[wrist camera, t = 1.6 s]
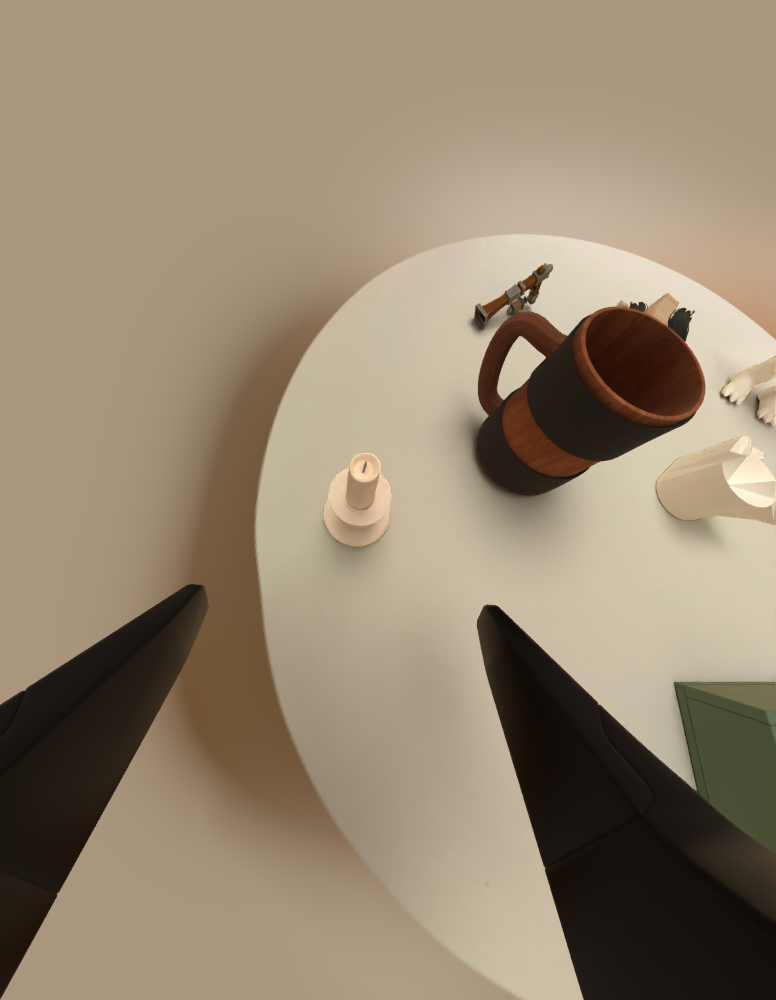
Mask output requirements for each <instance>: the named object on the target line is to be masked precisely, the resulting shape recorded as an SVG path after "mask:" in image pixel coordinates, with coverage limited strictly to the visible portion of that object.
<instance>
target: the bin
mask: <svg viewBox="0 0 776 1000" xmlns="http://www.w3.org/2000/svg"><path fill="white" fill-rule="evenodd" d="M675 686H676V691H677V696H678V700H679V705H680V709H681V714H682V719H683V723H684V728H685V732H686V737H687V742H688V746H689V751H690V756H691V760H692V765H693V769H694V774H695V779H696V783H697V788H698V793H699V794H700V795H701V796H702V797H703V798H704V799H705V800H707V801H708V802H709V803H710V804H711V805H712V806H713V807H715V808H716V809H717V810H718V811H719V812H720V813H722V814H723V815H724V816H725V817H726V818H728V819H729V820H730V821H731V822H732V823H734V824H735V825H736V826H738V827H739V828H740V829H742V830H743V831H744V832H746V833H747V834H749V835H750V836H752V837H753V838H755V839H756V840H757V841H759V842H761V843H762V844H764V845H766V846H767V847H769V848H771V849H772V850H774V851H776V682H675Z"/></svg>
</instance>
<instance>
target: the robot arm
mask: <svg viewBox="0 0 776 1000" xmlns="http://www.w3.org/2000/svg"><path fill="white" fill-rule="evenodd" d="M208 607H209V603H208V599H207V594H206V589H205V587H204V586H203V585H194V584H190V585H187V586H185V587H183V588H182V589H180V590H179V591H177V592H176V593H174V594H173V595H171V596H169V597H168V598H166V599H165V600H163V601H162V602H160V603H159V604H157V605H155V606H154V607H152V608H151V609H149V610H148V611H146V612H144V613H143V614H141V615H140V616H138V617H137V618H135V619H134V620H132V621H130V622H129V623H127V624H126V625H124V626H123V627H121V628H120V629H118V630H117V631H115V632H113V633H112V634H110V635H109V636H107V637H105V638H104V639H103V640H101V641H99V642H98V643H96V644H95V645H93V646H92V647H90V648H88V649H87V650H85V651H84V652H82V653H81V654H79V655H77V656H76V657H74V658H73V659H71V660H70V661H68V662H67V663H65V664H64V665H62V666H60V667H59V668H57V669H56V670H54V671H52V672H51V673H49V674H48V675H46V676H45V677H43V678H42V679H40V680H38V681H37V682H35V683H34V684H32V685H31V686H29V687H28V688H27V689H26V691H21V692H19V693H18V694H17V695H15V696H13V697H12V698H10V699H9V700H7V701H5V702H4V703H2V704H1V705H0V999H1V997H2V995H3V994H4V992H5V990H6V988H7V986H8V984H9V983H10V981H11V978H12V977H13V975H14V974H15V972H16V970H17V968H18V966H19V964H20V963H21V961H22V959H23V957H24V955H25V954H26V952H27V950H28V948H29V946H30V944H31V942H32V941H33V939H34V937H35V935H36V933H37V932H38V930H39V928H40V926H41V924H42V923H43V921H44V919H45V917H46V915H47V914H48V912H49V910H50V908H51V906H52V904H53V903H54V901H55V899H56V897H57V893H58V892H59V891H60V889H61V887H62V886H63V884H64V882H65V880H66V879H67V877H68V875H69V873H70V871H71V869H72V868H73V866H74V864H75V862H76V860H77V858H78V857H79V855H80V853H81V851H82V849H83V848H84V846H85V844H86V842H87V840H88V839H89V837H90V835H91V833H92V831H93V830H94V828H95V826H96V824H97V822H98V820H99V819H100V817H101V815H102V813H103V811H104V810H105V808H106V806H107V804H108V802H109V801H110V799H111V797H112V795H113V793H114V791H115V790H116V788H117V786H118V784H119V782H120V781H121V779H122V777H123V775H124V773H125V771H126V770H127V768H128V766H129V764H130V762H131V760H132V759H133V757H134V755H135V753H136V752H137V750H138V748H139V746H140V744H141V742H142V741H143V738H144V737H145V735H146V733H147V731H148V730H149V728H150V726H151V724H152V722H153V721H154V719H155V717H156V715H157V713H158V712H159V710H160V708H161V706H162V704H163V702H164V701H165V699H166V697H167V695H168V693H169V692H170V690H171V688H172V686H173V684H174V682H175V681H176V679H177V677H178V675H179V673H180V672H181V670H182V668H183V666H184V664H185V662H186V660H187V657H188V655H189V653H190V651H191V649H192V646H193V644H194V641H195V639H196V637H197V634H198V632H199V630H200V627H201V625H202V623H203V620H204V618H205V616H206V613H207V611H208ZM477 630H478V635H479V640H480V645H481V650H482V655H483V660H484V665H485V670H486V674H487V678H488V681H489V685H490V688H491V691H492V695H493V698H494V701H495V705H496V708H497V711H498V715H499V718H500V721H501V725H502V728H503V731H504V735H505V738H506V741H507V745H508V748H509V751H510V755H511V758H512V761H513V765H514V768H515V771H516V775H517V778H518V782H519V785H520V788H521V792H522V795H523V798H524V802H525V805H526V808H527V812H528V815H529V818H530V822H531V825H532V828H533V832H534V835H535V838H536V842H537V845H538V848H539V852H540V855H541V858H542V862H543V865H544V867H545V872H546V876H547V879H548V882H549V886H550V889H551V892H552V896H553V899H554V902H555V906H556V909H557V912H558V916H559V919H560V922H561V926H562V929H563V932H564V936H565V939H566V942H567V946H568V949H569V953H570V956H571V959H572V963H573V966H574V969H575V973H576V976H577V979H578V983H579V986H580V989H581V993H582V996H583V999H584V1000H776V851H774V850H772V849H771V848H769V847H767V846H766V845H764V844H762V843H761V842H759V841H757V840H756V839H755V838H753V837H752V836H750V835H749V834H747V833H746V832H744V831H743V830H742V829H740V828H739V827H738V826H736V825H735V824H734V823H732V822H731V821H730V820H729V819H728V818H726V817H725V816H724V815H723V814H722V813H720V812H719V811H718V810H717V809H716V808H715V807H713V806H712V805H711V804H710V803H709V802H708V801H707V800H705V799H704V798H703V797H702V796H701V795H700V794H699V793H697V792H696V791H695V790H694V789H693V788H692V787H691V786H689V785H688V784H687V783H686V782H685V781H684V780H682V779H681V778H680V777H679V776H678V775H677V774H676V773H674V772H673V771H672V770H671V769H670V768H669V767H668V766H666V765H665V764H664V763H663V762H662V761H661V760H659V759H658V758H657V757H656V756H655V755H654V754H653V753H652V752H651V751H649V750H648V749H647V748H646V747H645V746H644V745H643V744H642V743H640V742H639V741H638V740H637V739H636V738H635V737H634V736H633V735H632V734H631V733H629V732H628V731H627V730H626V729H625V728H624V727H623V726H622V725H621V724H620V723H619V722H618V721H617V720H616V719H615V718H614V717H612V716H611V715H610V714H609V713H608V712H607V711H606V710H605V709H604V708H603V707H602V706H601V705H598V702H597V701H596V700H595V699H594V698H593V697H592V696H591V695H590V694H589V693H587V692H586V691H585V690H584V689H583V688H582V687H581V686H580V685H579V684H578V683H577V682H576V681H575V680H574V679H573V678H572V677H571V676H570V675H569V674H568V673H567V672H566V671H565V670H564V669H563V668H562V667H561V666H560V665H558V664H557V663H556V662H555V661H554V660H553V659H552V658H551V657H550V656H549V655H548V654H547V653H546V652H545V651H544V650H543V649H542V648H541V647H540V646H539V645H538V644H537V643H536V642H535V641H534V640H533V639H532V638H531V637H529V636H528V635H527V634H526V633H525V632H524V631H523V630H522V629H521V628H520V627H519V626H518V625H517V624H516V623H515V622H514V621H513V620H512V619H511V618H510V617H509V616H508V615H507V614H506V613H505V612H504V611H503V610H501V609H500V608H499V607H498V606H496V605H485V606H484V607H483V609H482V611H481V613H480V615H479V618H478V620H477Z"/></svg>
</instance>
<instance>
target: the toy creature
mask: <svg viewBox="0 0 776 1000" xmlns="http://www.w3.org/2000/svg"><path fill="white" fill-rule="evenodd" d="M774 377H776V356H775V357H773V358H770V359H768V360H766V361H764V362H762V363H760V364H757V365H755V366H753V367H751V368H749V369H747V370H745V371H742V372H740V373H737V374H736V375H734V376H733V377H732V379H731V382H730V383H729V384H728V385H726V386H725V387H724V389H723V390H722V394H723V395H724V396H725V397H726V396H729V395H730V398H729V399H730V402H733V401H735V402H736V405H739V404H740V403H742V402H743V401H744V399H745V397H746V396H747V395H748V394H749V393H750V391H751V389H752V387H753V386H754V385H757V384H760V383H763V382H767V381H769V380H771V379H772V378H774ZM758 399H759V400H760V404H759V410H758V411H757V416H759V419H760V418H762V419H763V420H764V421H765V423H770V424H772V426H776V386H774V387H771V388H768V389H766V390H764V391H762V392H760V393H759V394H758Z"/></svg>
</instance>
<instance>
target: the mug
mask: <svg viewBox="0 0 776 1000" xmlns="http://www.w3.org/2000/svg"><path fill="white" fill-rule="evenodd" d="M519 336H522V337H523V338H525V339H526V340H527V341H528V342H529V343H530V344H531V345H533V346H534V347H535V348H536V349H537V350H538V351H539V352H540V353H542V354H543V355H544V356H545V357H546V359H545V360H544V361H543V362H542V363H541V364H540V365H539V366H538V367H537V368H536V369H535V370H534V371H533V372H532V374H531V376H530V378H529V379H528V380H527V381H526V382H525V383H524V384H523V385H522V386H521V387H520V388H518V389H516V390H515V391H513V392H512V393H511V394H510V395H509V396H508V397H507V398H506V399H505V400H503V399H502V398H501V397H500V396H499V394H498V392H497V384H498V379H499V375H500V372H501V369H502V366H503V363H504V361H505V358H506V356H507V354H508V352H509V350H510V348H511V346H512V345H513V343H514V342H515V341H516V339H517V338H518V337H519ZM704 395H705V380H704V376H703V372H702V369H701V367H700V364H699V363H698V361H697V359H696V357H695V355H694V354H693V352H692V351H691V349H690V348H689V347H688V345H687V344H686V343H685V342H684V341H683V340H682V338H681V337H680V336H678V335H677V334H676V333H675V332H674V331H673V330H672V329H671V328H669V327H668V326H667V325H665V324H664V323H662V322H661V321H659V320H658V319H656V318H654V317H652V316H650V315H648V314H646V313H644V312H641V311H638V310H635V309H631V308H626V307H608V308H603V309H600V310H598V311H596V312H595V313H593V314H591V315H589V316H587V317H585V318H583V319H582V320H581V321H580V322H579V324H578V325H577V326H576V327H575V328H574V329H573V331H572V332H571V333H570V334H569V335H568V336H567V335H564V334H562V333H561V332H559V331H558V330H557V329H556V328H555V327H554V326H553V325H552V324H551V323H550V322H549V321H548V320H546V319H545V318H544V317H542V316H541V315H539V314H537V313H533V312H521V313H518V314H516V315H514V316H511V317H510V318H508V319H507V320H506V321H505V322H504V323H503V324H502V325H501V326H500V328H499V329H498V330H497V331H496V333H495V335H494V336H493V338H492V340H491V342H490V344H489V346H488V348H487V350H486V353H485V356H484V358H483V361H482V365H481V369H480V373H479V379H478V397H479V401H480V404H481V406H482V407H483V409H484V411H485V412H486V413H487V414H488V416H489V417H488V418H487V419H486V420H485V421H484V422H483V424H482V426H481V428H480V430H479V433H478V437H477V449H478V454H479V458H480V461H481V464H482V466H483V468H484V469H485V471H486V472H487V474H488V475H489V476H490V477H491V478H492V479H493V480H494V481H495V482H496V483H498V484H499V485H501V486H502V487H504V488H506V489H508V490H510V491H512V492H515V493H518V494H523V495H538V494H542V493H545V492H548V491H550V490H552V489H555V488H557V487H559V486H561V485H563V484H565V483H567V482H569V481H570V480H572V479H574V478H576V477H578V476H579V475H581V474H583V473H584V472H585V471H587V470H588V469H589V468H590V466H592V465H594V464H596V463H598V462H600V461H607V460H612V459H614V458H617V457H619V456H621V455H623V454H625V453H627V452H629V451H631V450H633V449H634V448H636V447H638V446H640V445H642V444H644V443H646V442H648V441H650V440H653V439H655V438H657V437H659V436H661V435H663V434H665V433H667V432H669V431H671V430H674V429H676V428H678V427H680V426H682V425H684V424H685V423H687V422H688V421H689V420H690V419H692V417H693V416H694V415H695V413H696V411H697V410H698V409H699V407H700V406H701V404H702V402H703V399H704Z"/></svg>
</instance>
